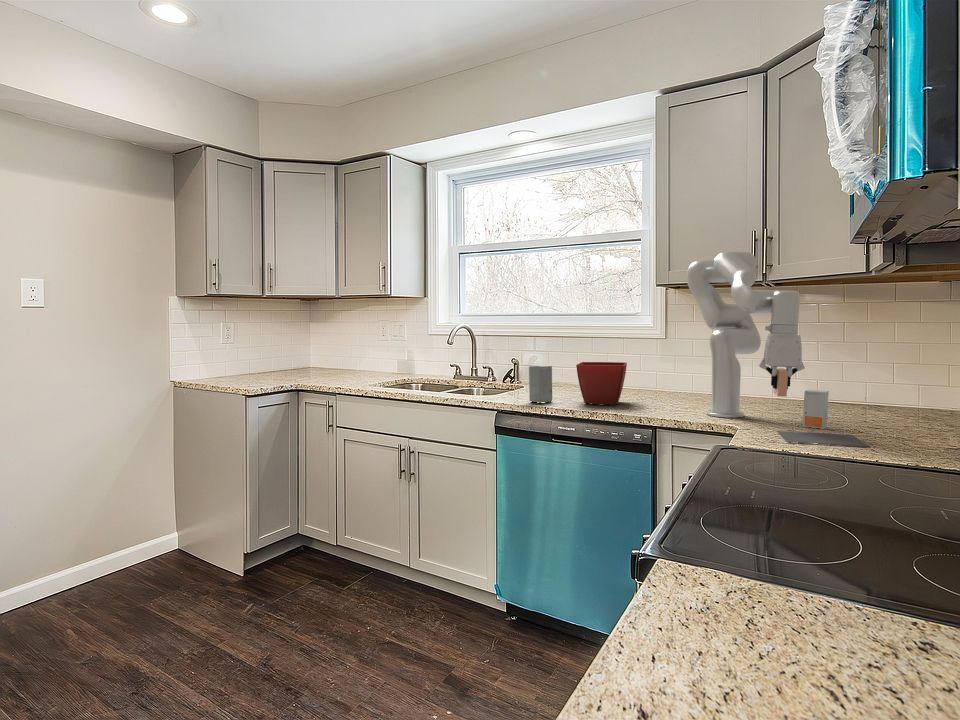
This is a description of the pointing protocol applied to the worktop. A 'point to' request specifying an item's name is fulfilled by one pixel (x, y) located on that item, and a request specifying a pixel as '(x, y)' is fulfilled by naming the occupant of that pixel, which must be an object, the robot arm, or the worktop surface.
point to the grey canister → (540, 383)
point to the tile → (781, 382)
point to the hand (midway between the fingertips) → (780, 388)
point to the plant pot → (601, 381)
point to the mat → (822, 438)
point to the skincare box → (815, 409)
